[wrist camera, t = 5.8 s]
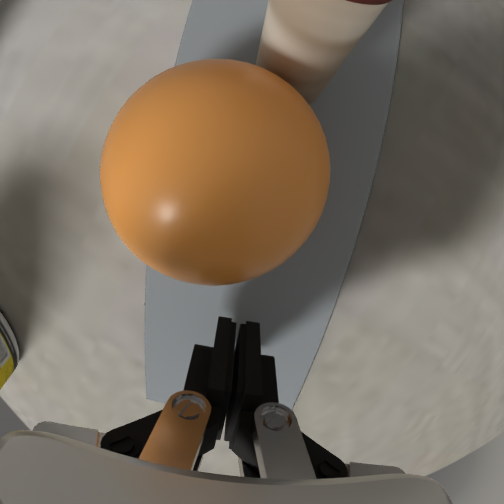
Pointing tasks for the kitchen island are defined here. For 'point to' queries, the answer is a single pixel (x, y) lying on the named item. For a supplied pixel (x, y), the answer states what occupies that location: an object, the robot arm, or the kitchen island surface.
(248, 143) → the ball
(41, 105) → the kitchen island surface
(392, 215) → the kitchen island surface
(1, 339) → the pill bottle
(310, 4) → the pin
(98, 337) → the kitchen island surface
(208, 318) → the plate
